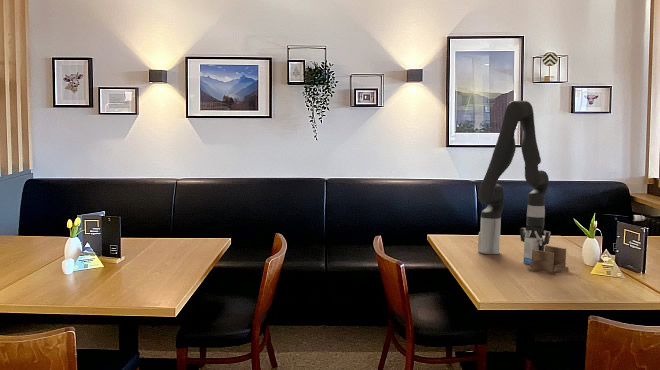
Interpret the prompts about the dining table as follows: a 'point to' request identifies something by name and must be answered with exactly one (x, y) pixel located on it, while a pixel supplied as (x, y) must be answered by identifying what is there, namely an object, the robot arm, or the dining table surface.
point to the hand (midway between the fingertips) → (534, 252)
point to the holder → (549, 260)
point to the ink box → (530, 248)
